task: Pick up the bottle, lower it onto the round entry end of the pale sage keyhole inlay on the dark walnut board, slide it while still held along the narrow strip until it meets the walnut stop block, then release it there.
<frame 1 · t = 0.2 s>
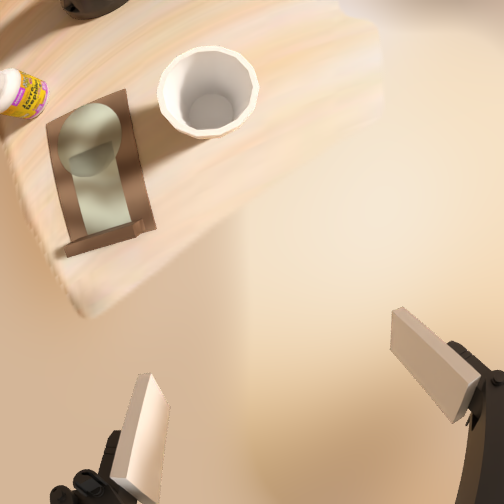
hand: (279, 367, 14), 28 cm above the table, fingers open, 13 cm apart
keyhole board: (95, 171, 35), on the table
supplement bottle: (36, 100, 30), on the table
foam cup: (211, 114, 35), on the table
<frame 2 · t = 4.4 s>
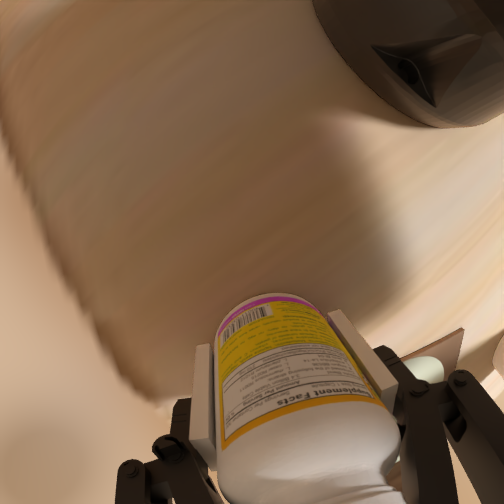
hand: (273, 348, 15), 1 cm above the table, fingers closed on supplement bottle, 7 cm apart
keyhole board: (386, 432, 21), on the table
supplement bottle: (270, 336, 16), on the table, touching gripper
when the fingers open (2 cm above the table, at t = 12.0 s): supplement bottle stays where it is, resting on keyhole board.
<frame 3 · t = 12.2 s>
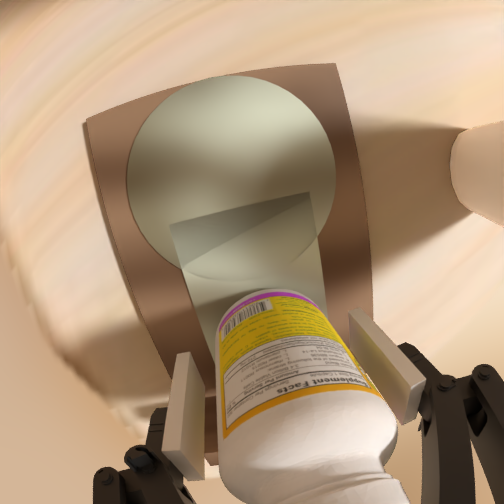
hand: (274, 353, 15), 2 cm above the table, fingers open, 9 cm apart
keyhole board: (253, 267, 16), on the table
supplement bottle: (270, 332, 17), resting on keyhole board
foam cup: (472, 169, 16), on the table
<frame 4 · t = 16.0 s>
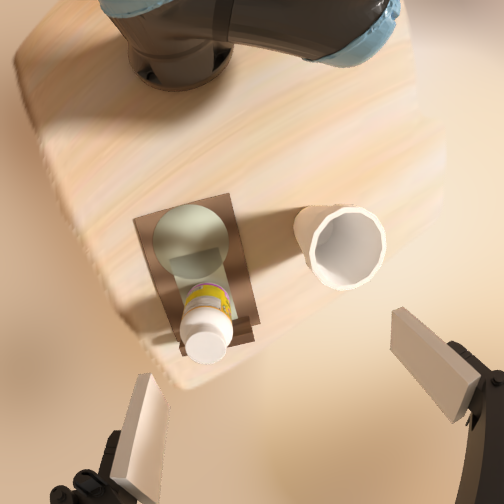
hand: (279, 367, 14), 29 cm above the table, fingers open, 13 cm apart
keyhole board: (199, 274, 42), on the table
supplement bottle: (208, 299, 43), resting on keyhole board
foam cup: (313, 226, 42), on the table
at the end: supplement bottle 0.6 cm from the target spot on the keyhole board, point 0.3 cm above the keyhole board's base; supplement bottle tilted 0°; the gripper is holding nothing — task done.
